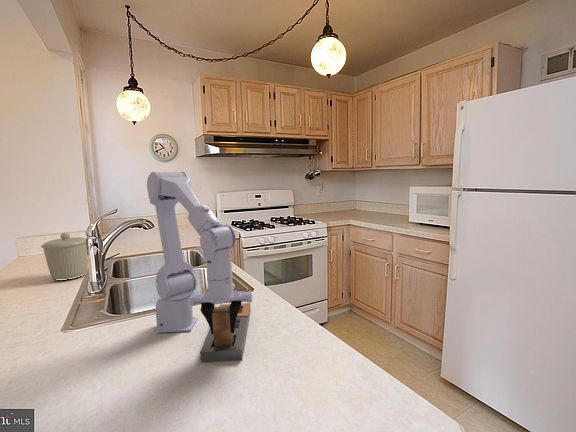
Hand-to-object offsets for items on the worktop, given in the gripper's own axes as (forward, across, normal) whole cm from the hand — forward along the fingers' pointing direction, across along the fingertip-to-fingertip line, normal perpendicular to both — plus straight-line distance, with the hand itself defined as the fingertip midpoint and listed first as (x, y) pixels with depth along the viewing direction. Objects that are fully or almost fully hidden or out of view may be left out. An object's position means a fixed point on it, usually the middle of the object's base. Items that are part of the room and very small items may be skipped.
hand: (223, 331), depth 75 cm
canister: (+5, -82, +72) cm, 109 cm away
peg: (+3, 0, 0) cm, 3 cm away
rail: (+5, 0, +9) cm, 10 cm away
